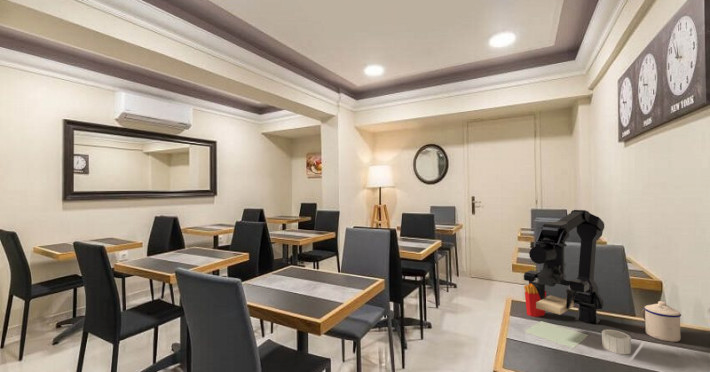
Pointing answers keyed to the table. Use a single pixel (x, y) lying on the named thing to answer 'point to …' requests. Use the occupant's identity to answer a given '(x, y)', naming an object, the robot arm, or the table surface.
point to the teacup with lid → (662, 322)
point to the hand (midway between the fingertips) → (555, 305)
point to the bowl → (616, 341)
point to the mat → (556, 334)
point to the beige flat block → (553, 304)
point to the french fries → (532, 301)
